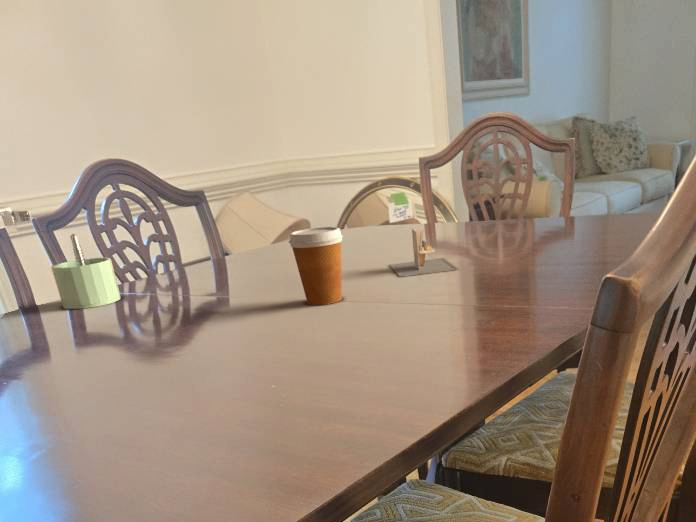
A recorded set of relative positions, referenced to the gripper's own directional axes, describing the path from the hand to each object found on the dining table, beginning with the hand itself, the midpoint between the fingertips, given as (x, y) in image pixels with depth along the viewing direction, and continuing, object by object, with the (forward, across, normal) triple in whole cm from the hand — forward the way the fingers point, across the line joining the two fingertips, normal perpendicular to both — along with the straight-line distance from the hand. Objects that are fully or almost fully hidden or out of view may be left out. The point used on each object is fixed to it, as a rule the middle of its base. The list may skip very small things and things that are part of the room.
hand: (22, 217), depth 151 cm
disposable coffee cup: (+57, +27, -17) cm, 65 cm away
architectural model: (+78, +4, -16) cm, 80 cm away
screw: (+9, -1, -17) cm, 19 cm away
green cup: (+9, -1, -17) cm, 20 cm away
